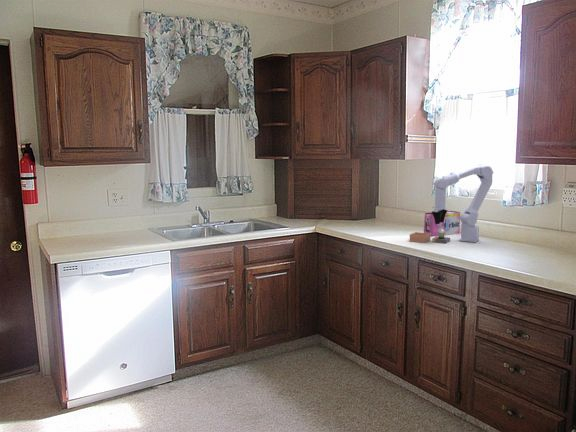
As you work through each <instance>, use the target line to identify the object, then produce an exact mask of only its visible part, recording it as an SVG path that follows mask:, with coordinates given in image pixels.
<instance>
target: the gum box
mask: <svg viewBox="0 0 576 432" xmlns="http://www.w3.org/2000/svg"><path fill="white" fill-rule="evenodd" d="M460 216H461V212H460V211H455V210H448V211H447V213H446V215H445V218H444V222H440V224H435V219H434V216H433V214H432V211H431V212H424V220H423V224H424V225H423V233H430V234H431V236H430V237H436V236H437V237H438V232H439V229H441V228H442V229H444V230H445V231H444V232H445V233H444V236H450V235H458V234H461V231H460V229H461V220H460Z"/></svg>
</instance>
